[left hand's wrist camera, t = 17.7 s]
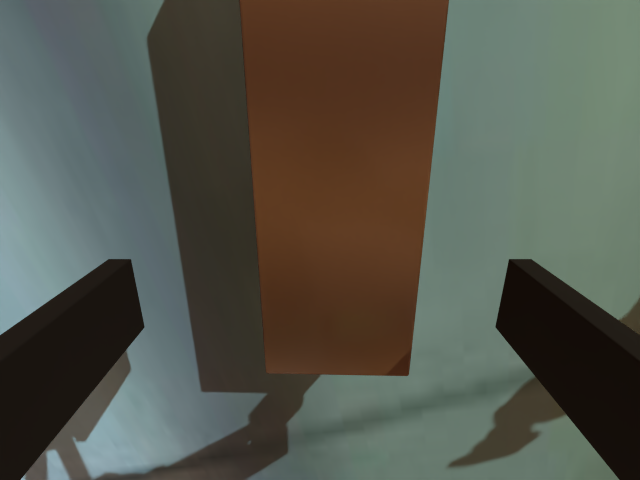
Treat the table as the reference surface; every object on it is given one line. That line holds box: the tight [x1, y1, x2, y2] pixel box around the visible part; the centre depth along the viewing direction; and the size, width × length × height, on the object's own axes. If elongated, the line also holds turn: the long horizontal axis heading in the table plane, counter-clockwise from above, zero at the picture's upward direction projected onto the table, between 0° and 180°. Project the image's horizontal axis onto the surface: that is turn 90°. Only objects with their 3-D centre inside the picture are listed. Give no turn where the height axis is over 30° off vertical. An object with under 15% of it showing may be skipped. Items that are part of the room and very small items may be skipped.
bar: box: [239, 0, 449, 376], centre depth 14 cm, size 23×6×8 cm, turn 0°
